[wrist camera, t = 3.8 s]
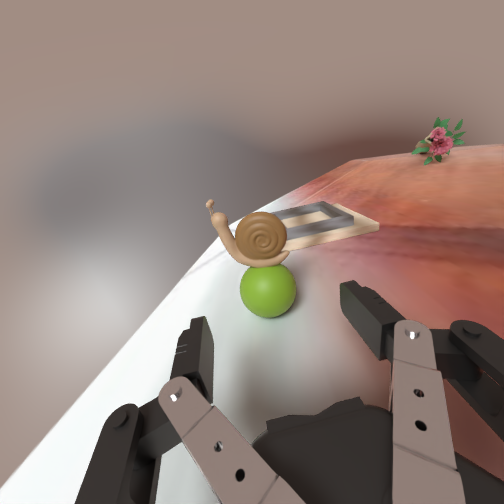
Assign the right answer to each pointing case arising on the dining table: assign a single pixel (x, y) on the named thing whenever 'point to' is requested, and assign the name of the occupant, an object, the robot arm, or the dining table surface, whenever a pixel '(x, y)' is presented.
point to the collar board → (322, 224)
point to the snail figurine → (259, 261)
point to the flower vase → (439, 141)
